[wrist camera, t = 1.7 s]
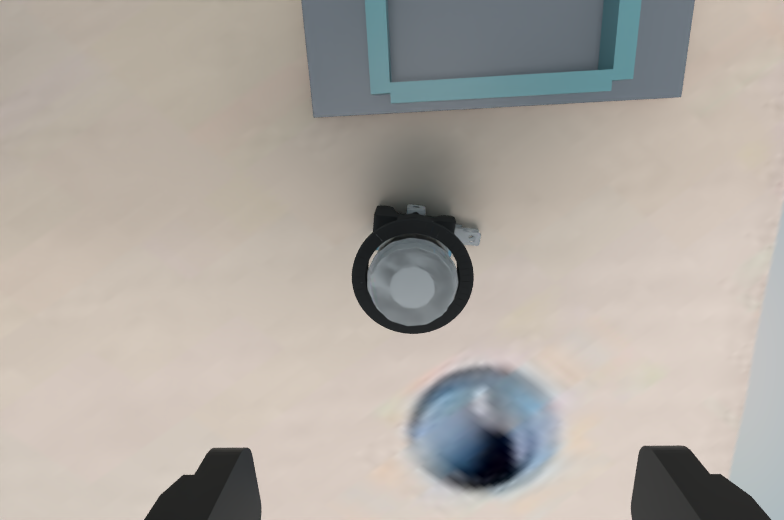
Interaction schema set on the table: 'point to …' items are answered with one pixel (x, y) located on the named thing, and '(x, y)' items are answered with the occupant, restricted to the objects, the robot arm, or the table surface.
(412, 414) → the table surface
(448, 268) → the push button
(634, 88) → the dock
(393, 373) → the table surface
